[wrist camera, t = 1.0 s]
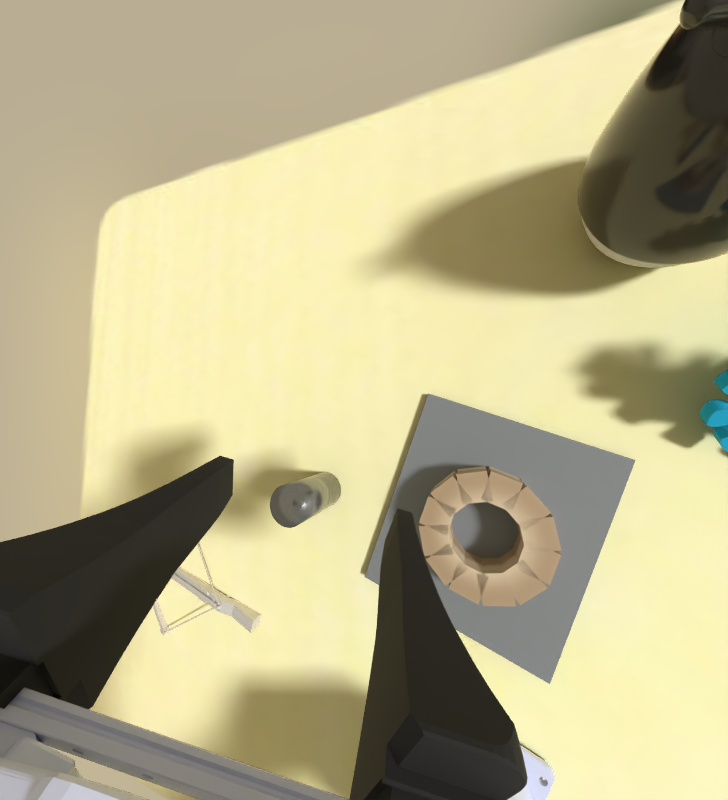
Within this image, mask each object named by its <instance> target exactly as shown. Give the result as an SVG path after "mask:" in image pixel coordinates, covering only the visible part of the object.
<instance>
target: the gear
mask: <svg viewBox="0 0 728 800" xmlns="http://www.w3.org/2000/svg"><path fill="white" fill-rule="evenodd" d="M714 382H715V383H716V385H717V386H718V387H719V388H720V389H721V390H722V391H723V392H724V393H725V394H728V370H726V371H725V372H723V373H722V374H720V375H719V376H718V377H717V378H715V379H714ZM699 416H700V417H701V418H702V420H703V421H704V422H705V424H706V425H707V426H711V427H718V428H715V429H713V434H714V436H715V438H716V439H717V441H718V442H719V443H720V445H721V446H722V448H723V449H724V450H725V451H728V426H725V425H728V403H727V402H726V401H723V400H711V401H708V402H707V403H706V404H705V405H704V406H703V407H702V409H701V411H700V414H699ZM720 426H721V427H720Z"/></svg>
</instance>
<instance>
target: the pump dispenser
mask: <svg viewBox="0 0 728 800" xmlns="http://www.w3.org/2000/svg"><path fill="white" fill-rule="evenodd" d="M578 203H579V209H580V213H581V217H582V222H583V225H584V229H585V231H586V233H587V235H588V237H589V239H590V240H591V242H592V243H593V244H594V245H595V247H596V248H597V249H599V250H600V251H601V252H602V253H603V254H605V255H606V256H608V257H610V258H611V259H614V260H616V261H618V262H621V263H624V264H627V265H632V266H637V267H650V268H657V267H669V266H676V265H681V264H686V263H693V262H698V261H703V260H708V259H711V258H715V257H718V256H721V255H724V254H727V253H728V0H685V2H684V4H683V6H682V9H681V13H680V23H679V24H678V26H677V27H676V28H675V29H674V31H673V32H672V33H671V34H670V36H669V37H668V38H667V39H666V41H665V42H664V43H663V44H662V46H661V47H660V48H659V50H658V51H657V52H656V53H655V55H654V56H653V57H652V59H651V60H650V61H649V63H648V64H647V65H646V67H645V68H644V69H643V71H642V72H641V73H640V75H639V76H638V78H637V79H636V80H635V82H634V83H633V85H632V86H631V88H630V89H629V90H628V92H627V93H626V95H625V96H624V98H623V99H622V101H621V102H620V104H619V105H618V107H617V109H616V110H615V112H614V113H613V115H612V116H611V118H610V120H609V121H608V123H607V124H606V126H605V128H604V129H603V131H602V132H601V134H600V136H599V138H598V139H597V141H596V143H595V145H594V147H593V149H592V151H591V153H590V155H589V157H588V159H587V161H586V164H585V166H584V169H583V171H582V174H581V178H580V182H579V189H578Z"/></svg>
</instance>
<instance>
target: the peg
mask: <svg viewBox="0 0 728 800" xmlns="http://www.w3.org/2000/svg"><path fill="white" fill-rule="evenodd" d="M340 493H341V487H340V483H339V481H338V479H337V478H336V477H335V476H334V475H333V474H331V473H328V472H322V473H318V474H315V475H312V476H309V477H306V478H303V479H300V480H297V481H294V482H291V483H288V484H285V485H282V486H280V487H278V488H277V489H276V490H275V491H274V493H273V494H272V497H271V501H270V509H271V513H272V516H273V517H274V519H275V520H276V522H277V523H279V524H280V525H281V526H283V527H288V528H291V527H295V526H297V525H299V524H300V523H302V522H304V521H305V520H307V519H309V518H311V517H312V516H314V515H316V514H317V513H319V512H321V511H322V510H324V509H326V508H328V507H329V506H331V505H333V504H334V503H336V502H337V500H338V499H339V497H340Z"/></svg>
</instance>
